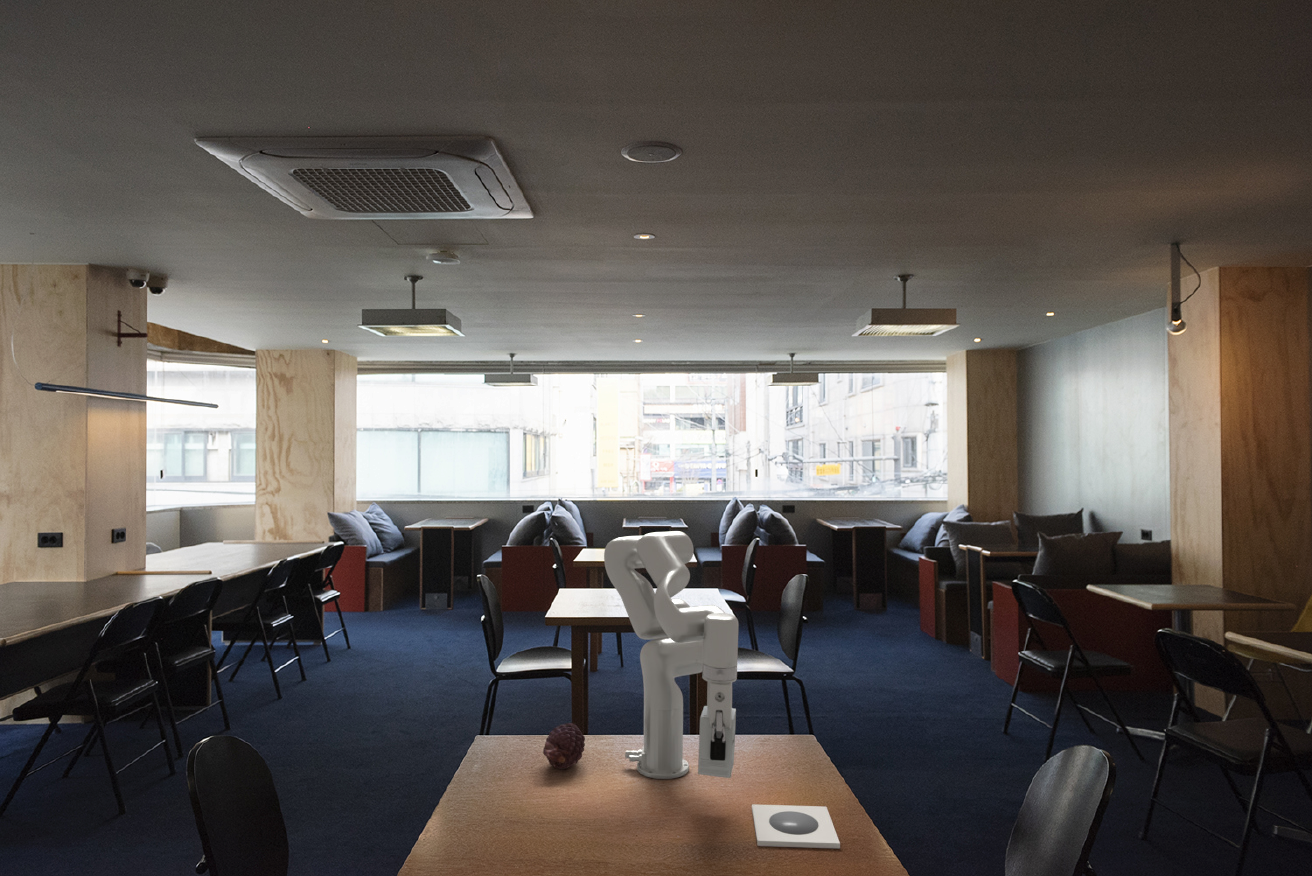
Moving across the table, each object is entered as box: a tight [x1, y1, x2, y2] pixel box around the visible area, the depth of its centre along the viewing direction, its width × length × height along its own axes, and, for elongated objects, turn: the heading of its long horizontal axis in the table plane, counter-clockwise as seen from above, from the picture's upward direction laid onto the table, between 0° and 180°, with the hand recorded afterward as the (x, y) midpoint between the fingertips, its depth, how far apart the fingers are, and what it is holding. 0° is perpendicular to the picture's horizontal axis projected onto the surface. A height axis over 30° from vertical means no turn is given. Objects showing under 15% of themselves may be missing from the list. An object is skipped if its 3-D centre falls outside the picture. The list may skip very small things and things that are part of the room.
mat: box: [751, 803, 841, 849], centre depth 164 cm, size 16×16×1 cm
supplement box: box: [697, 705, 737, 779], centre depth 173 cm, size 7×7×13 cm
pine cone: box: [542, 722, 586, 770], centre depth 195 cm, size 18×10×10 cm, turn 171°
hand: (716, 751), depth 173 cm, fingers closed on supplement box, 7 cm apart
